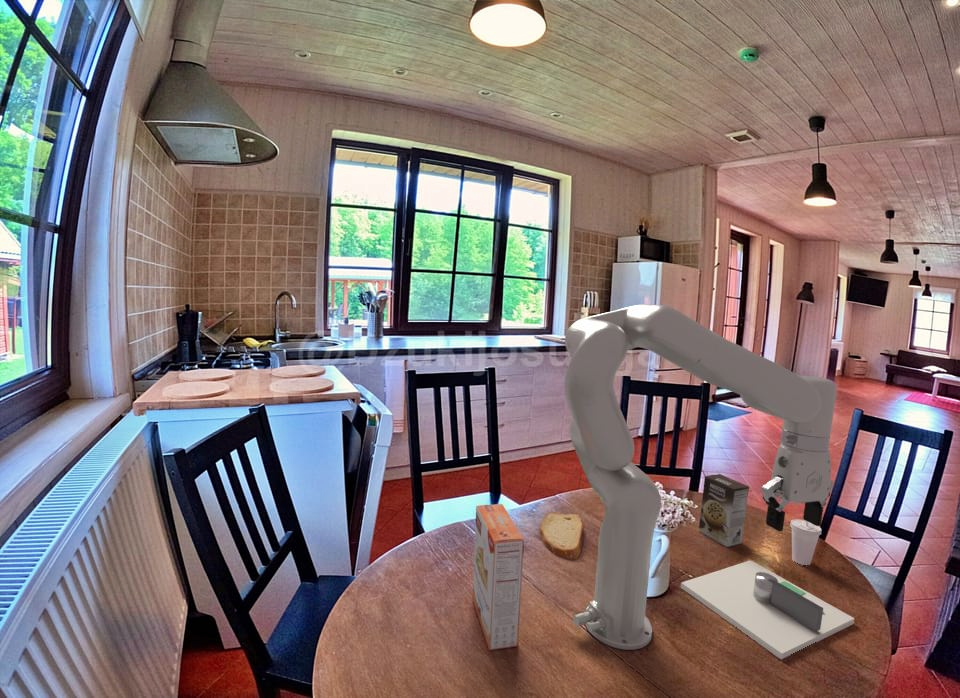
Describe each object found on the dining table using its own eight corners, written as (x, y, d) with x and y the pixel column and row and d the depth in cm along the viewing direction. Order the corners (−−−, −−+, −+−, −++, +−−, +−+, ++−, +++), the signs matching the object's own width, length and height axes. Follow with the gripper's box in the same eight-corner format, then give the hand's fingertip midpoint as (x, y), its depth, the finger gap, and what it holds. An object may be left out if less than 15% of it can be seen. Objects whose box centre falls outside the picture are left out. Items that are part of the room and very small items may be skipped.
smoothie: (787, 564, 114) (794, 510, 113) (784, 551, 120) (791, 500, 118) (818, 572, 111) (826, 517, 110) (814, 559, 117) (821, 507, 115)
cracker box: (470, 600, 95) (475, 504, 92) (498, 597, 96) (504, 502, 94) (486, 652, 81) (492, 540, 79) (519, 648, 83) (526, 538, 80)
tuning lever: (749, 594, 99) (751, 574, 98) (760, 589, 100) (763, 570, 100) (811, 633, 88) (815, 611, 87) (823, 627, 89) (827, 606, 89)
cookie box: (697, 531, 129) (703, 475, 127) (713, 527, 131) (719, 472, 129) (726, 547, 120) (733, 488, 119) (743, 543, 123) (750, 485, 121)
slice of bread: (567, 564, 110) (568, 549, 110) (517, 531, 124) (518, 517, 124) (614, 542, 121) (615, 529, 120) (563, 514, 135) (564, 502, 135)
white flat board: (781, 659, 83) (782, 652, 83) (680, 587, 102) (681, 581, 102) (853, 623, 93) (854, 617, 93) (749, 564, 113) (750, 559, 113)
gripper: (788, 449, 82) (776, 540, 84) (857, 444, 87) (844, 530, 89) (752, 436, 89) (742, 520, 91) (818, 433, 94) (807, 512, 96)
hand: (793, 525), depth 90 cm, fingers open, 9 cm apart
